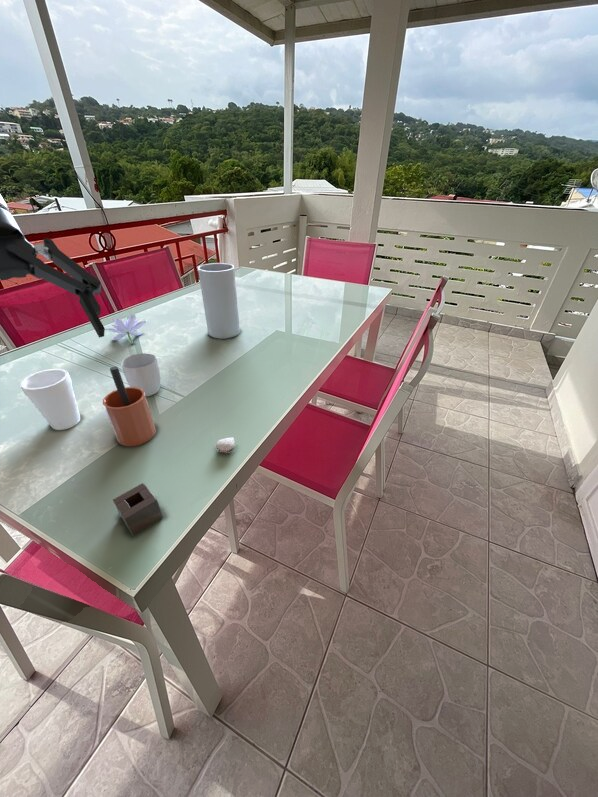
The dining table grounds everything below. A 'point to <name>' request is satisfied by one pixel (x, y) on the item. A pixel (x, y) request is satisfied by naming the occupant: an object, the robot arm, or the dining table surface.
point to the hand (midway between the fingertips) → (52, 346)
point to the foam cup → (53, 397)
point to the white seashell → (225, 445)
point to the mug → (142, 372)
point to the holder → (138, 508)
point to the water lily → (126, 327)
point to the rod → (120, 386)
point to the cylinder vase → (219, 299)
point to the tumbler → (130, 417)
